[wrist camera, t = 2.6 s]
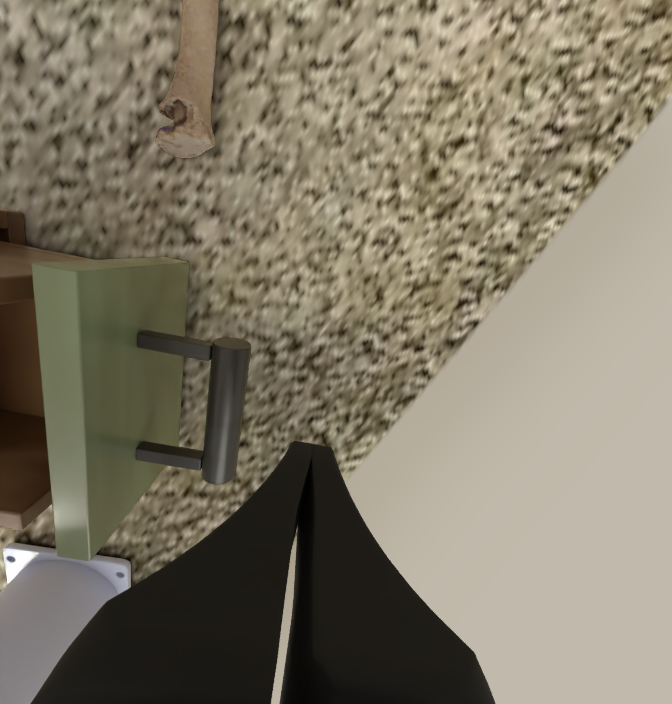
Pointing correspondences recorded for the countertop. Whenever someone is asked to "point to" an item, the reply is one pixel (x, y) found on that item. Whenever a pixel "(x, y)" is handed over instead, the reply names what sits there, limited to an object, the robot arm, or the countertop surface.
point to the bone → (192, 83)
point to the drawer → (102, 390)
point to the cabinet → (12, 227)
